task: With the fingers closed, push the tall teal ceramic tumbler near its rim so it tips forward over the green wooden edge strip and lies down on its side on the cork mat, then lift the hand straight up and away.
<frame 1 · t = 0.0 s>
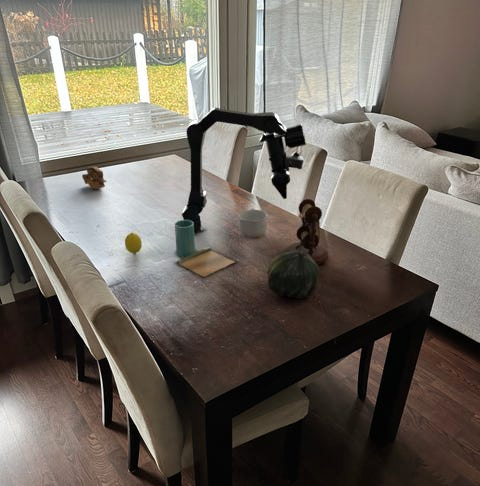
hand: (285, 194, 157), 15 cm above the table, tool pointing down, fingers open, 9 cm apart
scroll: (305, 259, 148), on the table
cup: (186, 252, 151), on the table
lemon: (134, 254, 150), on the table
teacup: (253, 233, 166), on the table
cork mat: (207, 263, 144), on the table
wooden carving: (95, 188, 208), on the table
squash: (291, 292, 130), on the table
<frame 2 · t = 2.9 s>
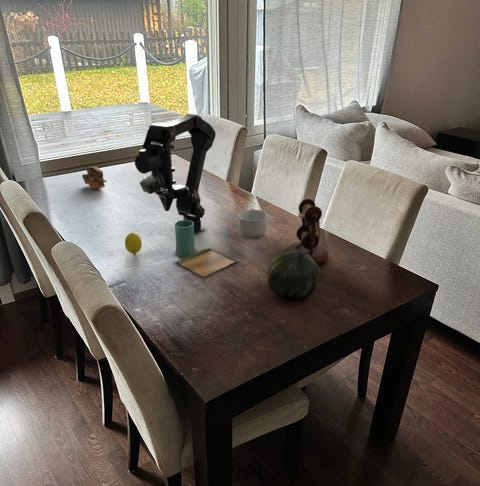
hand: (167, 210, 149), 13 cm above the table, tool pointing down, fingers closed
nothing on the table moved.
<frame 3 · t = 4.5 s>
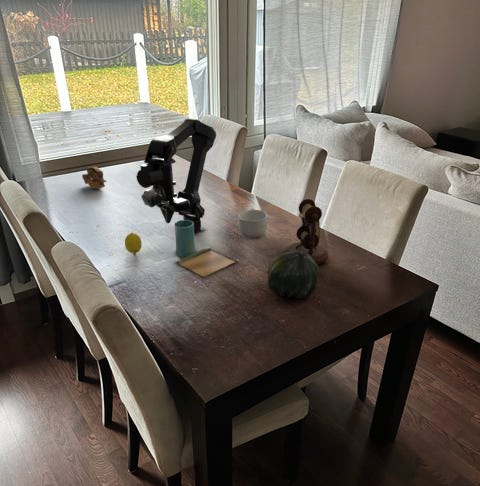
hand: (168, 222, 152), 9 cm above the table, tool pointing down, fingers closed
nothing on the table moved.
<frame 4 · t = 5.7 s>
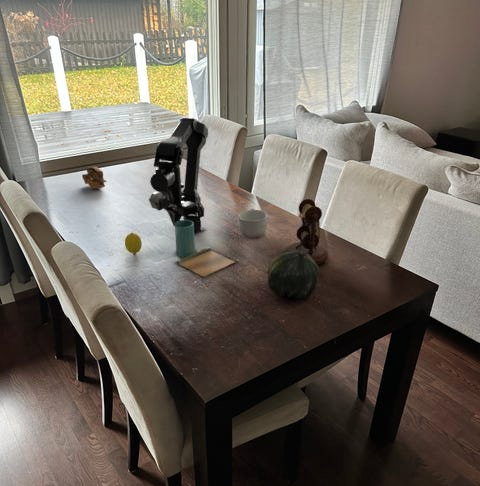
hand: (175, 226, 149), 9 cm above the table, tool pointing down, fingers closed
cup: (186, 252, 151), on the table, touching gripper
everything else where it was.
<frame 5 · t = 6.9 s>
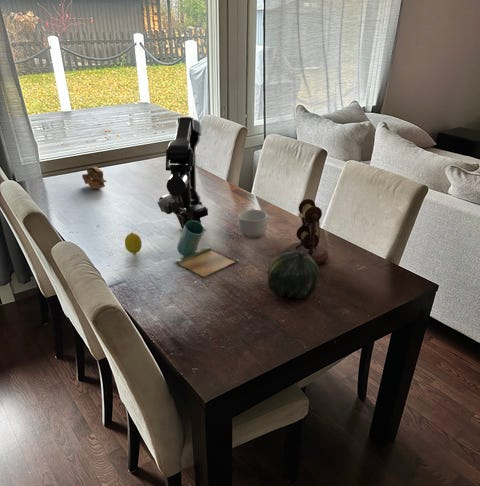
hand: (184, 230, 146), 9 cm above the table, tool pointing down, fingers closed
cup: (186, 249, 150), point 1 cm above the table, tilted 28°, touching cork mat, gripper
everything else where it was.
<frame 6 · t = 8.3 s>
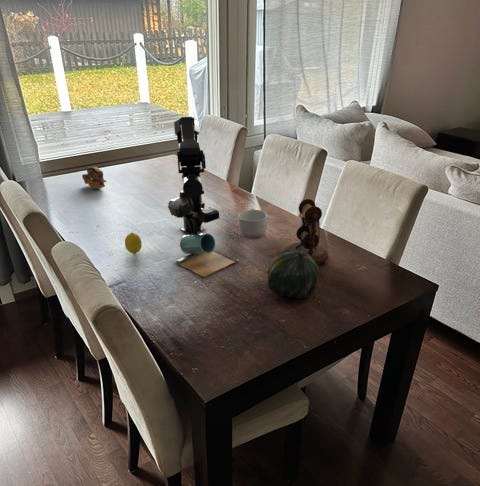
hand: (194, 234, 143), 9 cm above the table, tool pointing down, fingers closed
cup: (187, 244, 148), point 4 cm above the table, tilted 69°, touching cork mat, gripper
everything else where it was.
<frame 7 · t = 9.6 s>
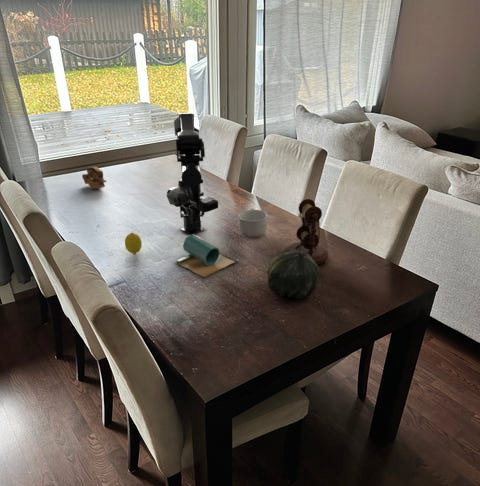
hand: (193, 223, 142), 12 cm above the table, tool pointing down, fingers closed
cup: (190, 243, 147), point 5 cm above the table, tilted 96°, touching cork mat
everything else where it was.
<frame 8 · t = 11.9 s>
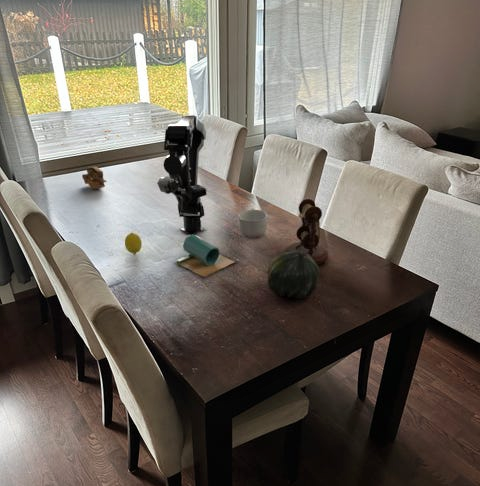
hand: (183, 210, 149), 13 cm above the table, tool pointing down, fingers closed
nothing on the table moved.
at the end: cup tilted 96°; cup inside the target area (2.9 cm from its centre), point 4.7 cm above the table; the gripper is holding nothing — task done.
